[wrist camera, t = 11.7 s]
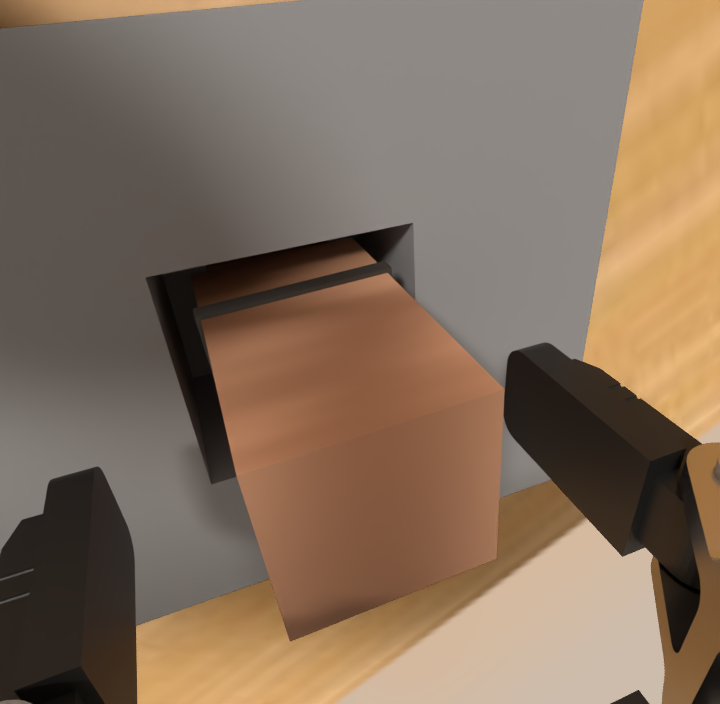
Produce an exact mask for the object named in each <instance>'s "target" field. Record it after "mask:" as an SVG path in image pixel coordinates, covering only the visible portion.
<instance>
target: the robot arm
mask: <svg viewBox="0 0 720 704" xmlns="http://www.w3.org/2000/svg"><path fill="white" fill-rule="evenodd" d="M503 415H504V420H505V424H506V426H507V429H508V431H509V433H510V434H511V436H512V437H513V438H514V440H515V441H516V442H517V443H518V444H519V445H520V446H521V447H522V448H523V449H524V450H525V451H526V453H527V454H528V455H529V456H530V457H531V458H532V459H533V460H534V461H535V462H536V463H537V465H538V466H539V467H540V468H541V469H542V470H543V471H544V472H545V473H546V474H547V475H548V476H549V478H550V479H551V480H552V481H553V482H554V483H555V484H556V485H557V486H558V487H559V488H560V489H561V491H562V492H563V493H564V494H565V495H566V496H567V497H568V498H569V499H570V500H571V501H572V502H573V504H574V505H575V506H576V507H577V508H578V509H579V510H580V511H581V512H582V513H583V514H584V516H585V517H586V518H587V519H588V520H589V521H590V522H591V523H592V524H593V525H594V526H595V527H596V528H597V530H598V531H599V532H600V533H601V534H602V535H603V536H604V537H605V538H606V539H607V540H608V542H609V543H610V544H611V545H612V546H613V547H614V548H615V549H616V550H617V551H618V552H619V553H620V555H621V556H625V555H627V554H630V553H633V552H635V551H637V550H640V549H642V548H644V547H646V548H647V549H648V550H649V552H650V553H652V555H653V559H652V562H651V573H652V581H653V588H654V595H655V601H656V608H657V615H658V622H659V628H660V635H661V642H662V649H663V655H664V664H665V665H664V666H665V676H664V686H663V695H662V704H720V443H706V444H702V443H700V442H699V441H697V440H696V439H695V438H693V437H692V436H691V435H689V434H688V433H687V432H685V431H684V430H683V429H681V428H680V427H678V426H677V425H676V424H674V423H673V422H672V421H670V420H669V419H668V418H666V417H665V416H664V415H662V414H661V413H660V412H658V411H657V410H655V409H654V408H653V407H651V406H650V405H649V404H647V403H646V402H645V401H643V400H642V399H637V395H635V394H634V393H633V392H631V391H630V390H628V389H627V388H626V387H621V385H620V383H619V382H618V381H616V380H615V379H614V378H612V377H611V376H610V375H608V374H607V373H605V372H604V371H603V370H601V369H600V368H597V367H595V366H592V365H590V364H587V363H585V362H582V361H580V360H577V359H570V358H569V357H568V356H566V355H565V354H564V353H562V352H561V351H560V350H559V349H557V348H556V347H555V346H553V345H552V344H550V343H547V342H544V343H540V344H536V345H533V346H529V347H526V348H522V349H519V350H515V351H512V352H511V353H510V354H509V356H508V360H507V370H506V381H505V393H504V413H503ZM0 704H137V663H136V603H135V557H134V549H133V543H132V539H131V535H130V532H129V529H128V526H127V523H126V521H125V519H124V517H123V515H122V512H121V510H120V508H119V506H118V503H117V501H116V499H115V497H114V495H113V492H112V490H111V488H110V486H109V484H108V481H107V479H106V477H105V475H104V473H103V471H102V470H101V468H100V467H98V466H97V467H93V468H89V469H86V470H82V471H79V472H75V473H72V474H68V475H64V476H61V477H57V478H54V479H51V480H50V481H49V483H48V487H47V492H46V498H45V504H44V510H43V514H40V515H37V516H33V517H30V518H26V519H23V520H21V522H20V523H19V524H18V526H17V527H16V529H15V530H14V532H13V533H12V535H11V536H10V538H9V539H8V541H7V542H6V543H5V545H4V546H3V548H2V549H1V554H0ZM611 704H649V703H648V702H647V700H646V699H645V698H644V697H643V695H642V694H641V692H640V691H639V690H638V691H636V692H633V693H631V694H629V695H628V696H625V697H623V698H622V699H619V700H618V701H616V702H613V703H611Z"/></svg>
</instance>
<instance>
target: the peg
mask: <svg viewBox="0 0 720 704" xmlns="http://www.w3.org/2000/svg"><path fill="white" fill-rule="evenodd" d="M205 266H206V269H207V271H205V272H201V273H197V274H193V275H191V279H192V284H193V288H194V292H195V297H196V301H197V305H198V308H194V309H193V313H194V317H195V321H196V324H197V327H198V330H199V333H200V336H201V340H202V343H203V346H204V349H205V352H206V356H207V359H208V362H209V365H210V368H211V372H212V375H213V378H214V381H215V384H216V389H217V393H218V397H219V402H220V406H221V410H222V415H223V419H224V424H225V428H226V432H227V437H228V441H229V445H230V450H231V454H232V459H233V463H234V467H235V472H236V476H237V479H238V482H239V485H240V488H241V491H242V495H243V498H244V501H245V504H246V507H247V510H248V513H249V516H250V519H251V522H252V525H253V528H254V531H255V535H256V538H257V541H258V544H259V547H260V550H261V553H262V556H263V559H264V562H265V565H266V568H267V572H268V575H269V578H270V581H271V584H272V587H273V590H274V593H275V596H276V599H277V602H278V605H279V609H280V612H281V615H282V618H283V621H284V624H285V627H286V630H287V633H288V636H289V639H290V641H293V640H295V639H298V638H300V637H303V636H305V635H308V634H310V633H313V632H315V631H318V630H320V629H323V628H325V627H328V626H330V625H333V624H335V623H338V622H340V621H343V620H345V619H348V618H350V617H353V616H355V615H358V614H360V613H363V612H365V611H368V610H370V609H373V608H375V607H378V606H380V605H383V604H385V603H388V602H390V601H393V600H395V599H398V598H400V597H403V596H405V595H407V594H410V593H412V592H415V591H417V590H420V589H422V588H425V587H427V586H430V585H432V584H435V583H437V582H440V581H442V580H445V579H447V578H450V577H452V576H455V575H457V574H460V573H462V572H465V571H467V570H470V569H472V568H475V567H477V566H480V565H482V564H485V563H487V562H490V561H492V560H495V559H497V539H498V518H499V497H500V476H501V455H502V434H503V413H504V392H505V389H504V388H503V387H502V386H501V385H500V384H499V383H498V382H497V381H496V380H495V379H494V378H493V377H492V376H491V375H490V374H489V373H488V372H487V371H486V370H485V369H484V368H483V367H482V366H481V365H480V364H479V363H478V362H477V361H476V360H475V359H474V358H473V357H472V356H471V355H470V354H469V353H468V352H467V351H466V350H465V349H464V348H463V347H462V346H461V345H460V344H459V343H458V342H457V341H456V340H455V339H454V338H453V337H452V336H451V335H450V334H449V333H448V332H447V331H446V330H445V329H444V328H443V327H442V326H441V325H440V324H439V323H438V322H437V321H436V320H435V319H434V318H433V317H432V316H430V315H429V314H428V313H427V312H426V311H425V310H424V309H423V308H422V307H421V306H420V305H419V304H418V303H417V302H416V301H415V300H414V299H413V298H412V297H411V296H410V295H409V294H408V293H407V292H406V291H405V290H404V289H403V288H402V287H401V286H400V285H399V284H398V283H397V282H396V281H395V280H394V279H393V278H392V267H391V266H389V265H388V264H387V263H386V262H385V261H382V262H378V263H377V262H376V261H375V260H374V259H373V258H372V257H371V256H370V255H369V254H368V253H367V252H366V251H365V250H364V249H363V248H362V247H361V246H360V245H359V244H358V243H357V242H356V241H355V240H354V239H353V238H352V237H350V238H345V239H341V240H337V241H333V242H328V243H327V242H326V241H321V242H316V243H312V244H307V245H302V246H297V247H292V248H287V249H282V250H277V251H272V252H268V253H263V254H258V255H253V256H248V257H243V258H238V259H233V260H228V261H224V262H219V263H214V264H209V265H205Z"/></svg>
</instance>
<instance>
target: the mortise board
mask: <svg viewBox="0 0 720 704" xmlns="http://www.w3.org/2000/svg"><path fill="white" fill-rule="evenodd" d="M643 1H644V0H301V1H290V2H279V3H268V4H257V5H247V6H236V7H225V8H214V9H204V10H193V11H182V12H171V13H161V14H150V15H139V16H128V17H118V18H107V19H96V20H85V21H74V22H64V23H53V24H42V25H31V26H21V27H10V28H0V554H1V549H2V548H3V546H4V545H5V543H6V542H7V541H8V539H9V538H10V536H11V535H12V533H13V532H14V530H15V529H16V527H17V526H18V524H19V523H20V522H21V520H23V519H26V518H30V517H33V516H37V515H40V514H43V510H44V504H45V498H46V492H47V487H48V483H49V481H50V480H51V479H54V478H57V477H61V476H64V475H68V474H72V473H75V472H79V471H82V470H86V469H89V468H93V467H97V466H98V467H100V468H101V470H102V471H103V473H104V475H105V477H106V479H107V481H108V484H109V486H110V488H111V490H112V492H113V495H114V497H115V499H116V501H117V503H118V506H119V508H120V510H121V512H122V515H123V517H124V519H125V521H126V523H127V526H128V529H129V532H130V535H131V539H132V543H133V549H134V557H135V603H136V626H137V625H139V624H142V623H145V622H148V621H151V620H154V619H157V618H159V617H162V616H165V615H168V614H171V613H174V612H177V611H179V610H182V609H185V608H188V607H191V606H194V605H196V604H199V603H202V602H205V601H208V600H211V599H214V598H216V597H219V596H222V595H225V594H228V593H231V592H233V591H236V590H239V589H242V588H245V587H248V586H251V585H253V584H256V583H259V582H262V581H265V580H268V579H270V578H269V575H268V572H267V568H266V565H265V562H264V559H263V556H262V553H261V550H260V547H259V544H258V541H257V538H256V535H255V531H254V528H253V525H252V522H251V519H250V516H249V513H248V510H247V507H246V504H245V501H244V498H243V495H242V491H241V488H240V485H239V482H238V479H237V476H236V472H235V467H234V463H233V459H232V454H231V450H230V445H229V441H228V437H227V432H226V428H225V424H224V419H223V415H222V410H221V406H220V402H219V397H218V393H217V389H216V384H215V381H214V378H213V375H212V372H211V368H210V365H209V362H208V359H207V356H206V352H205V349H204V346H203V343H202V340H201V336H200V333H199V330H198V327H197V324H196V321H195V317H194V313H193V309H194V308H198V305H197V301H196V297H195V292H194V288H193V284H192V279H191V275H193V274H197V273H201V272H205V271H207V269H206V266H205V265H209V264H214V263H219V262H224V261H228V260H233V259H238V258H243V257H248V256H253V255H258V254H263V253H268V252H272V251H277V250H282V249H287V248H292V247H297V246H302V245H307V244H312V243H316V242H321V241H326V242H327V243H328V242H333V241H337V240H341V239H345V238H350V237H352V238H353V239H354V240H355V241H356V242H357V243H358V244H359V245H360V246H361V247H362V248H363V249H364V250H365V251H366V252H367V253H368V254H369V255H370V256H371V257H372V258H373V259H374V260H375V261H376V262H377V263H378V262H382V261H385V262H386V263H387V264H388V265H389V266H391V267H392V278H393V279H394V280H395V281H396V282H397V283H398V284H399V285H400V286H401V287H402V288H403V289H404V290H405V291H406V292H407V293H408V294H409V295H410V296H411V297H412V298H413V299H414V300H415V301H416V302H417V303H418V304H419V305H420V306H421V307H422V308H423V309H424V310H425V311H426V312H427V313H428V314H429V315H430V316H432V317H433V318H434V319H435V320H436V321H437V322H438V323H439V324H440V325H441V326H442V327H443V328H444V329H445V330H446V331H447V332H448V333H449V334H450V335H451V336H452V337H453V338H454V339H455V340H456V341H457V342H458V343H459V344H460V345H461V346H462V347H463V348H464V349H465V350H466V351H467V352H468V353H469V354H470V355H471V356H472V357H473V358H474V359H475V360H476V361H477V362H478V363H479V364H480V365H481V366H482V367H483V368H484V369H485V370H486V371H487V372H488V373H489V374H490V375H491V376H492V377H493V378H494V379H495V380H496V381H497V382H498V383H499V384H500V385H501V386H502V387H503V388H504V389H505V381H506V370H507V360H508V356H509V354H510V353H511V352H512V351H515V350H519V349H522V348H526V347H529V346H533V345H536V344H540V343H544V342H547V343H550V344H552V345H553V346H555V347H556V348H557V349H559V350H560V351H561V352H562V353H564V354H565V355H566V356H568V357H569V358H570V359H577V360H580V361H583V355H584V349H585V343H586V337H587V332H588V326H589V320H590V314H591V308H592V302H593V296H594V290H595V284H596V278H597V272H598V267H599V261H600V255H601V249H602V243H603V237H604V231H605V225H606V219H607V213H608V207H609V202H610V196H611V190H612V184H613V178H614V172H615V166H616V160H617V154H618V148H619V142H620V137H621V131H622V125H623V119H624V113H625V107H626V101H627V95H628V89H629V83H630V77H631V71H632V66H633V60H634V54H635V48H636V42H637V36H638V30H639V24H640V18H641V12H642V6H643ZM504 393H505V392H504ZM550 480H551V479H550V478H549V476H548V475H547V474H546V473H545V472H544V471H543V470H542V469H541V468H540V467H539V466H538V465H537V463H536V462H535V461H534V460H533V459H532V458H531V457H530V456H529V455H528V454H527V453H526V451H525V450H524V449H523V448H522V447H521V446H520V445H519V444H518V443H517V442H516V441H515V440H514V438H513V437H512V436H511V434H510V433H509V431H508V429H507V426H506V424H505V420H504V415H503V434H502V455H501V476H500V497H499V498H501V497H504V496H507V495H510V494H513V493H515V492H518V491H521V490H524V489H527V488H530V487H532V486H535V485H538V484H541V483H544V482H547V481H550Z"/></svg>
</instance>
